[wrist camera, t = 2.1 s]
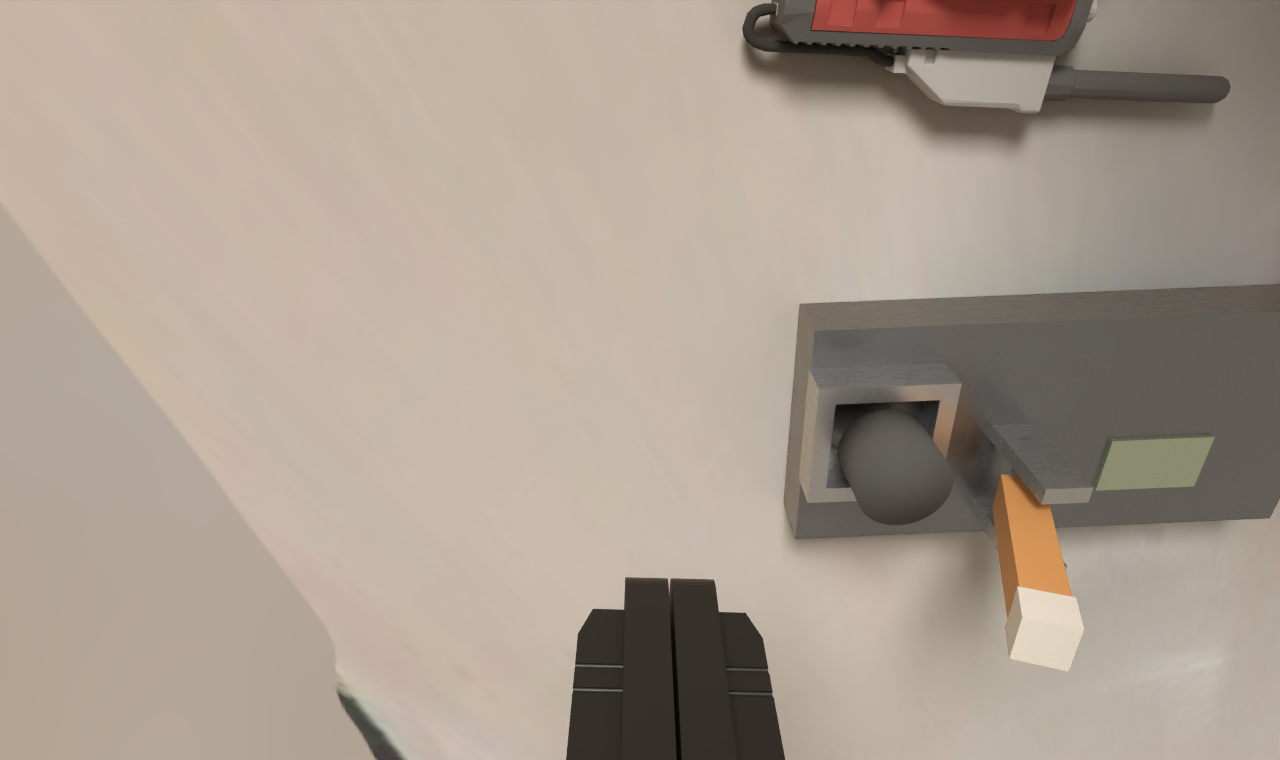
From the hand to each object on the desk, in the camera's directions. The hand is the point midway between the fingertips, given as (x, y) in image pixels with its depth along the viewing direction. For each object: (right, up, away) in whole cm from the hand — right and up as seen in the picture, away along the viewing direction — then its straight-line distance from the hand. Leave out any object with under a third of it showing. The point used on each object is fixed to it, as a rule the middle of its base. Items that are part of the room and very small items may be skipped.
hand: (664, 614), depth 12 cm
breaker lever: (+18, -1, +22) cm, 29 cm away
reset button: (+11, +1, +20) cm, 23 cm away
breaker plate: (+20, +3, +25) cm, 32 cm away
